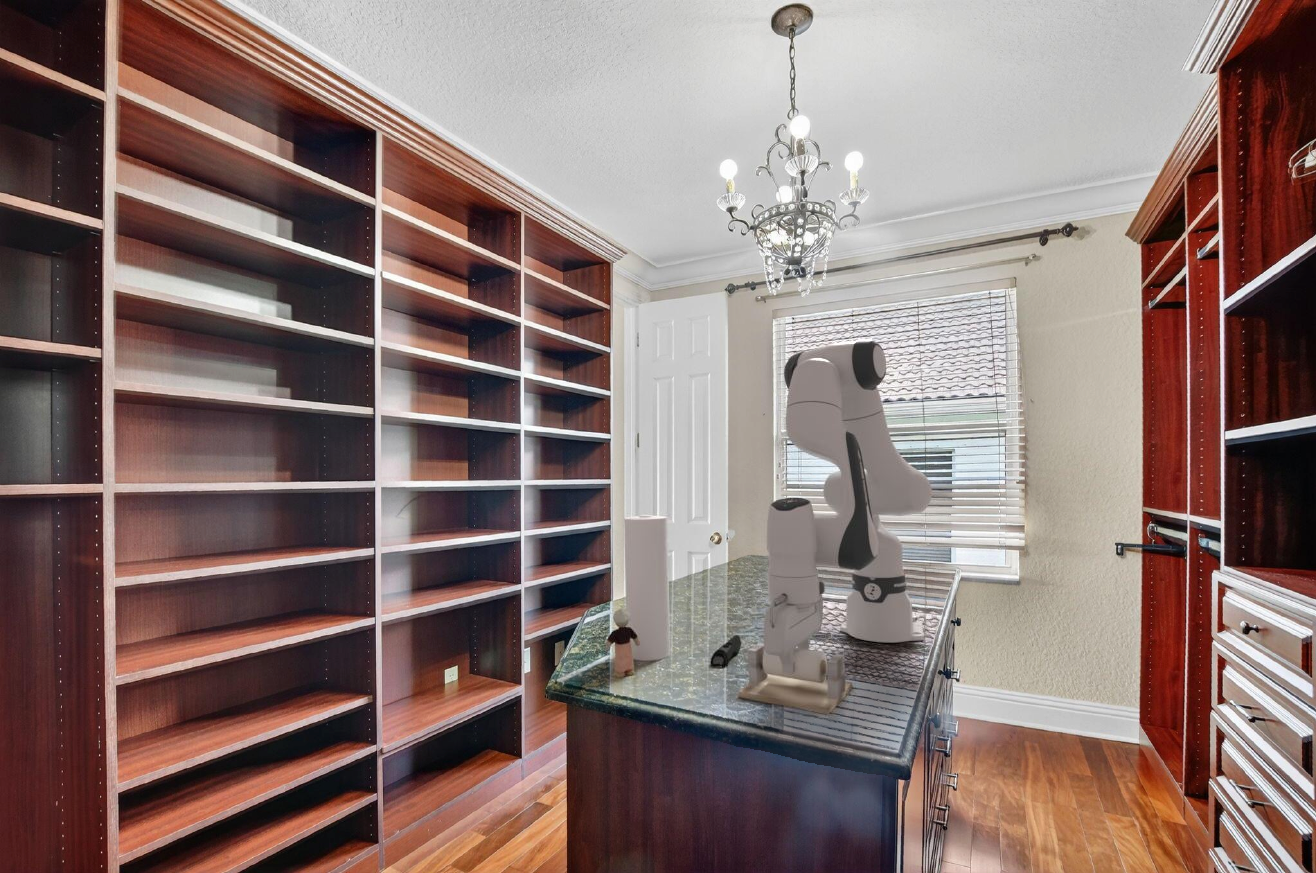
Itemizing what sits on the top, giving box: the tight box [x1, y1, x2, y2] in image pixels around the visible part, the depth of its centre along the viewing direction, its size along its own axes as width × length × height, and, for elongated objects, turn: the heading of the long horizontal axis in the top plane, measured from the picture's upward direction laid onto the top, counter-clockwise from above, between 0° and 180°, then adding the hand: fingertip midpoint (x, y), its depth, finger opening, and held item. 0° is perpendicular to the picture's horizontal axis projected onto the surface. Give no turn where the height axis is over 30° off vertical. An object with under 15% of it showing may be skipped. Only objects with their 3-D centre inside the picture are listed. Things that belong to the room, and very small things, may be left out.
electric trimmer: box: [710, 634, 742, 668], centre depth 135 cm, size 4×16×3 cm, turn 158°
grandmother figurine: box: [604, 608, 640, 678], centre depth 125 cm, size 8×4×13 cm, turn 135°
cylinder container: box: [623, 514, 671, 662], centre depth 138 cm, size 9×9×30 cm
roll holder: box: [737, 642, 854, 715], centre depth 113 cm, size 14×16×7 cm
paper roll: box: [763, 647, 828, 683], centre depth 113 cm, size 11×5×5 cm, turn 58°
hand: (795, 668), depth 113 cm, fingers closed on paper roll, 5 cm apart
